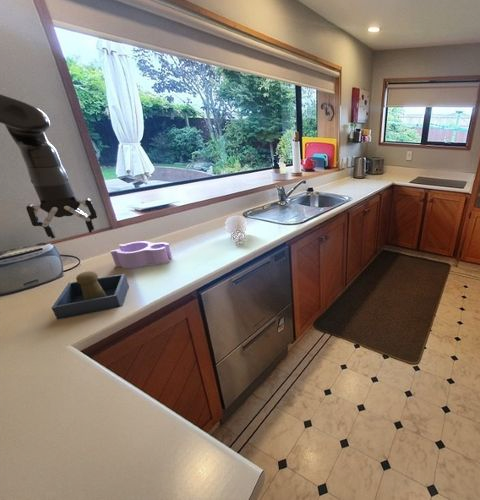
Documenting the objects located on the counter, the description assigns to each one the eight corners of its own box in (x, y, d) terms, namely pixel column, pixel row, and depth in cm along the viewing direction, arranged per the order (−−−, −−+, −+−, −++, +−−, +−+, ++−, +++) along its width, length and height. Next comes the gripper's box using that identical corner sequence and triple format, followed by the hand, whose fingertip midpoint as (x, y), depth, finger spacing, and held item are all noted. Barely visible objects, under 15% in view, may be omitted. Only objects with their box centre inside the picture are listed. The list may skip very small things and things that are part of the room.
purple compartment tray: (175, 253, 131) (172, 240, 128) (165, 266, 120) (161, 251, 117) (127, 255, 127) (122, 241, 124) (111, 269, 116) (106, 254, 113)
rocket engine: (239, 229, 136) (235, 211, 148) (222, 244, 137) (219, 225, 149) (257, 242, 144) (252, 223, 156) (240, 256, 145) (236, 237, 157)
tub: (58, 322, 86) (51, 308, 84) (74, 296, 98) (68, 282, 96) (121, 309, 93) (116, 295, 90) (129, 286, 105) (124, 273, 103)
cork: (85, 309, 91) (72, 280, 87) (84, 300, 95) (72, 272, 91) (108, 302, 95) (97, 274, 90) (107, 294, 99) (97, 267, 94)
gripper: (84, 177, 87) (102, 226, 94) (17, 182, 79) (42, 235, 85) (84, 182, 82) (102, 233, 89) (12, 187, 73) (38, 243, 80)
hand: (72, 234), depth 87 cm, fingers open, 8 cm apart
